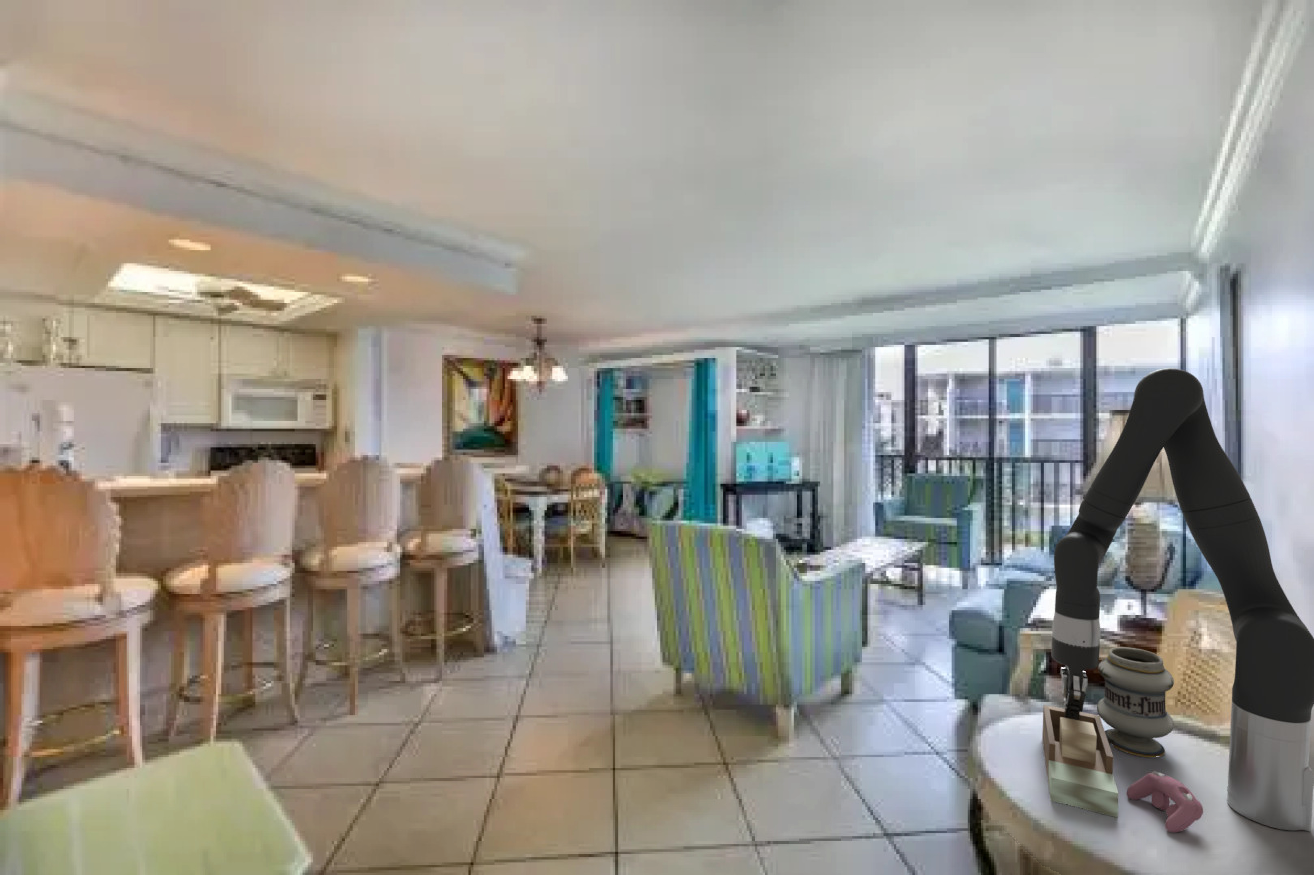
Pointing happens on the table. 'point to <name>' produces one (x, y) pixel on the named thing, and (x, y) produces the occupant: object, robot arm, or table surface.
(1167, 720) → the apothecary jar
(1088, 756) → the maple block
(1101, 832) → the table surface
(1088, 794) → the channel
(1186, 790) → the video game controller
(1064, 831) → the table surface
